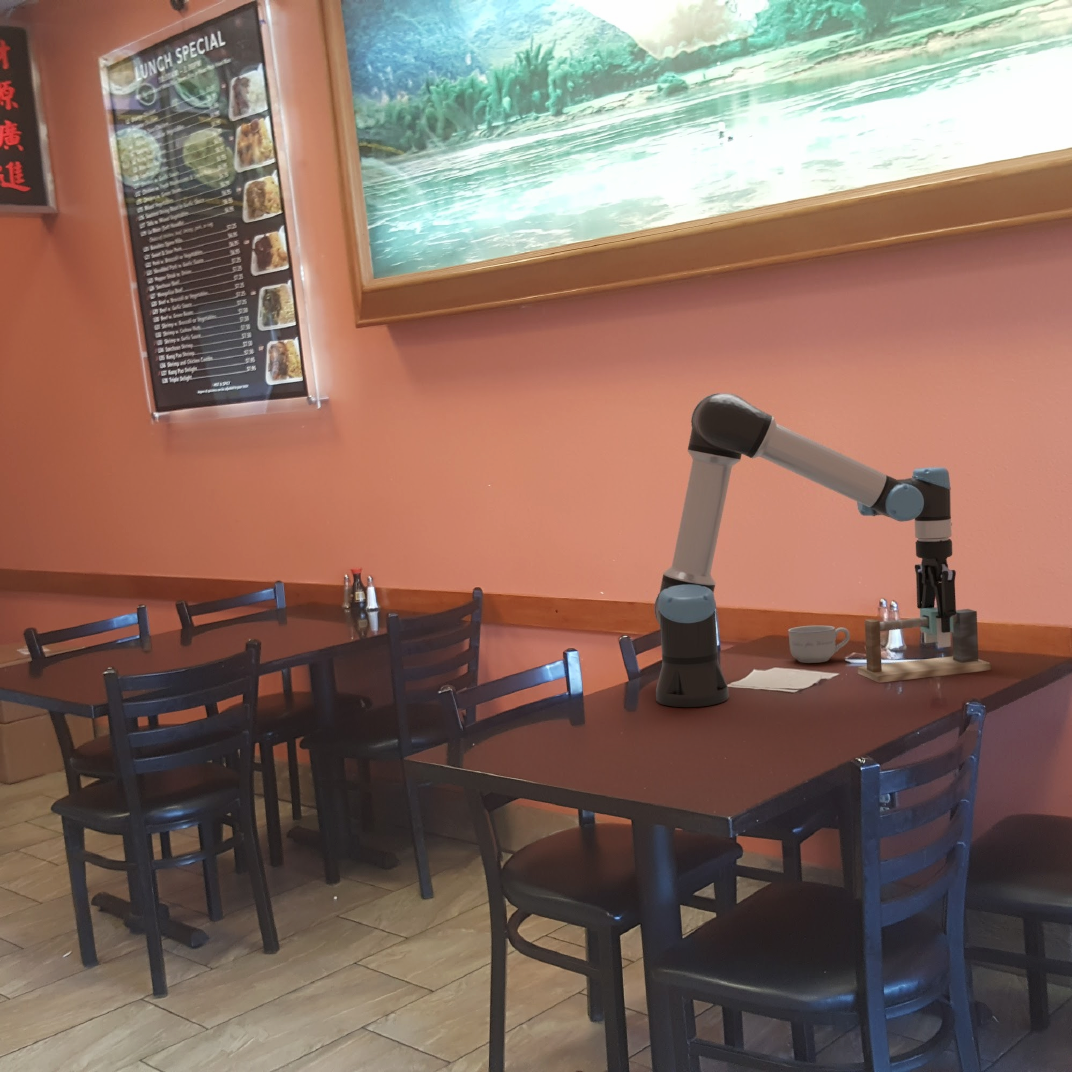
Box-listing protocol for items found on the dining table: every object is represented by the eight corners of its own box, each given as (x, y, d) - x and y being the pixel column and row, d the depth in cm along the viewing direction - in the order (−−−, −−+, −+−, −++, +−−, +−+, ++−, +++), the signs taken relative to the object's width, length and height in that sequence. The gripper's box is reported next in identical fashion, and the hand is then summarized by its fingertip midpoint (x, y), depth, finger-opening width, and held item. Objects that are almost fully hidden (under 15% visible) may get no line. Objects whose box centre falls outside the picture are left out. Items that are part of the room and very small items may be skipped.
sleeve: (932, 635, 259) (931, 612, 258) (920, 631, 263) (919, 608, 263) (953, 632, 259) (952, 609, 259) (941, 628, 264) (940, 606, 264)
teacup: (787, 666, 277) (785, 632, 276) (791, 656, 287) (790, 623, 286) (849, 666, 273) (848, 631, 272) (851, 656, 283) (850, 622, 282)
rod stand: (878, 682, 255) (876, 624, 253) (858, 673, 264) (855, 617, 263) (990, 670, 259) (989, 613, 258) (966, 661, 269) (964, 606, 268)
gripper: (971, 541, 251) (975, 650, 253) (928, 533, 269) (932, 635, 271) (938, 544, 250) (942, 653, 252) (897, 536, 268) (901, 639, 270)
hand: (937, 644), depth 262 cm, fingers closed on sleeve, 5 cm apart
